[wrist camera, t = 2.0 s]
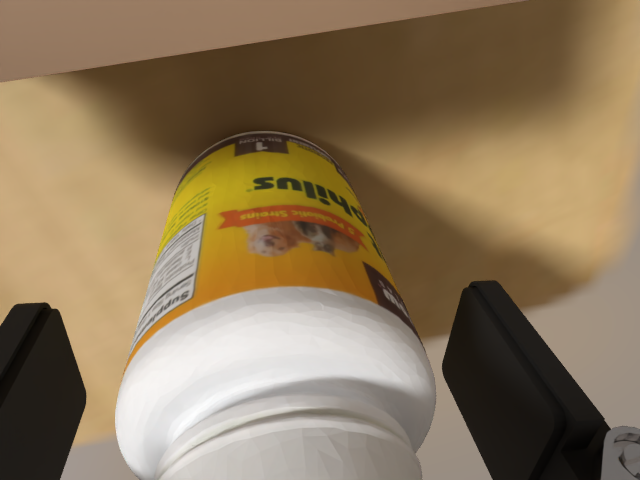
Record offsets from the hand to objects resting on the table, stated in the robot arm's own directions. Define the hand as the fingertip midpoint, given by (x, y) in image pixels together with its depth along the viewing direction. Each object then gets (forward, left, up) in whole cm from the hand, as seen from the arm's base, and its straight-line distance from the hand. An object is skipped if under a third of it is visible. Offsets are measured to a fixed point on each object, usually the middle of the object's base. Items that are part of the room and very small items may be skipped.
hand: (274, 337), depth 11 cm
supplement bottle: (-1, 0, -5) cm, 5 cm away
